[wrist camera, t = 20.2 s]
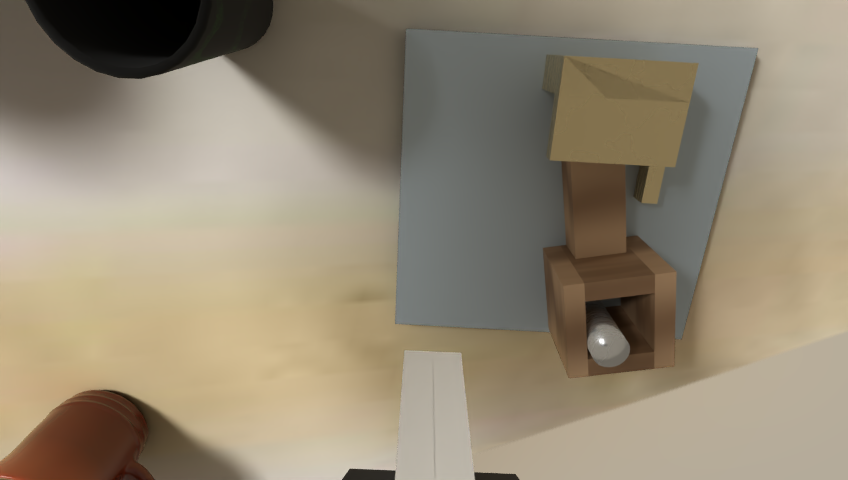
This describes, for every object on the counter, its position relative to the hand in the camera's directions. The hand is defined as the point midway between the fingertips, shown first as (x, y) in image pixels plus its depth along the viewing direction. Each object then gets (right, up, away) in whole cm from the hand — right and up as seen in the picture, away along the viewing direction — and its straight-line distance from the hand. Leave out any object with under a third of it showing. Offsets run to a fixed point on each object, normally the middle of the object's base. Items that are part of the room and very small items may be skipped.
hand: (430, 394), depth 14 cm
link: (+11, +5, +21) cm, 24 cm away
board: (+9, +7, +21) cm, 24 cm away
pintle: (+11, 0, +23) cm, 25 cm away
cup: (-12, +19, +18) cm, 28 cm away
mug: (-25, -11, +29) cm, 40 cm away
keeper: (+11, +11, +19) cm, 24 cm away
